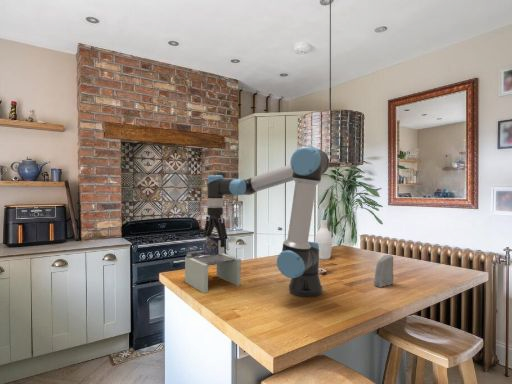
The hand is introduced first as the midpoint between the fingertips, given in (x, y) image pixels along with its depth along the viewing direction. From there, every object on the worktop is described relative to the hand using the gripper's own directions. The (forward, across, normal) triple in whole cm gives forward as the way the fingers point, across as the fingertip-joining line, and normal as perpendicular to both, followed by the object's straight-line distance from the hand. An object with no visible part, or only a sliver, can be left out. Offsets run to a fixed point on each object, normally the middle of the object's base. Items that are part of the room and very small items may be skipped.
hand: (214, 251), depth 152 cm
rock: (+1, +1, 0) cm, 1 cm away
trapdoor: (+9, +5, 0) cm, 10 cm away
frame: (+16, +2, 0) cm, 16 cm away
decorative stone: (+16, -49, -67) cm, 85 cm away
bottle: (+16, +8, -89) cm, 91 cm away
